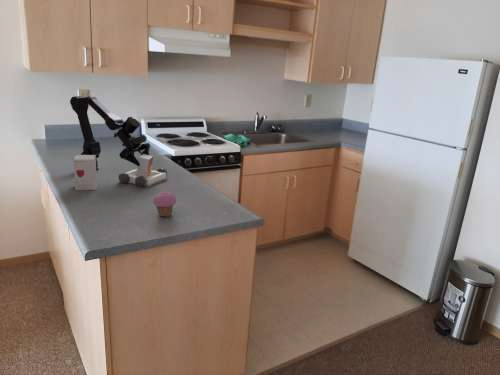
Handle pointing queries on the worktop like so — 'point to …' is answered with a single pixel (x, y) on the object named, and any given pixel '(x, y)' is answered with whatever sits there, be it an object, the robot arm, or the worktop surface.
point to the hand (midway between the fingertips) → (145, 163)
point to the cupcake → (164, 203)
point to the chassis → (141, 180)
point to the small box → (144, 165)
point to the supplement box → (85, 172)
